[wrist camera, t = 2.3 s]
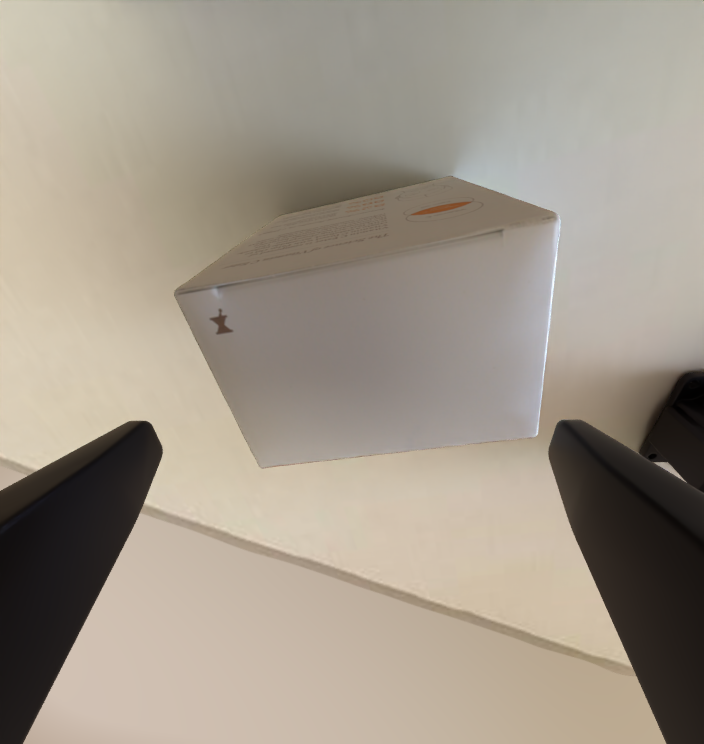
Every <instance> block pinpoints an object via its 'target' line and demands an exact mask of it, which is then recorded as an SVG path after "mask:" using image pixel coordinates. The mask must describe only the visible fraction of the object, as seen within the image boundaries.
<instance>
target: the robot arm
mask: <svg viewBox="0 0 704 744" xmlns="http://www.w3.org/2000/svg"><path fill="white" fill-rule="evenodd" d="M162 454H163V449H162V445H161V443H160V441H159V439H158V437H157V434H156V432H155V430H154V428H153V426H152V424H151V423H149V422H148V421H129V422H127V423H125V424H123V425H121V426H119V427H117V428H116V429H114V430H112V431H110V432H108V433H106V434H104V435H103V436H101V437H99V438H97V439H95V440H93V441H92V442H90V443H88V444H86V445H84V446H82V447H80V448H79V449H77V450H75V451H73V452H71V453H69V454H68V455H66V456H64V457H62V458H60V459H58V460H56V461H55V462H53V463H51V464H49V465H47V466H45V467H44V468H42V469H40V470H38V471H36V472H34V473H32V474H31V475H29V476H27V477H25V478H23V479H21V480H20V481H18V482H16V483H14V484H12V485H11V486H9V487H7V488H5V489H3V490H1V491H0V744H23V742H24V740H25V738H26V736H27V734H28V732H29V730H30V728H31V727H32V725H33V723H34V721H35V719H36V717H37V715H38V713H39V711H40V709H41V707H42V705H43V703H44V701H45V699H46V697H47V695H48V693H49V691H50V689H51V687H52V685H53V683H54V681H55V680H56V678H57V676H58V674H59V672H60V670H61V668H62V666H63V664H64V662H65V660H66V658H67V656H68V654H69V652H70V650H71V648H72V646H73V644H74V642H75V640H76V638H77V636H78V634H79V632H80V630H81V628H82V626H83V625H84V623H85V621H86V619H87V617H88V615H89V613H90V611H91V609H92V607H93V605H94V603H95V601H96V599H97V597H98V595H99V593H100V591H101V589H102V587H103V585H104V583H105V581H106V580H107V577H108V576H109V574H110V572H111V570H112V568H113V566H114V564H115V562H116V560H117V558H118V556H119V554H120V552H121V550H122V548H123V546H124V544H125V542H126V540H127V538H128V536H129V534H130V533H131V531H132V529H133V527H134V524H135V522H136V520H137V518H138V516H139V513H140V511H141V509H142V506H143V504H144V501H145V499H146V496H147V494H148V491H149V489H150V486H151V483H152V481H153V478H154V476H155V473H156V471H157V468H158V466H159V463H160V461H161V458H162ZM548 454H549V460H550V463H551V466H552V470H553V473H554V476H555V479H556V482H557V485H558V489H559V492H560V495H561V498H562V501H563V504H564V508H565V511H566V514H567V517H568V520H569V523H570V525H571V528H572V531H573V533H574V535H575V538H576V540H577V543H578V545H579V547H580V549H581V552H582V554H583V556H584V558H585V561H586V563H587V565H588V567H589V570H590V572H591V574H592V576H593V579H594V581H595V583H596V585H597V588H598V590H599V592H600V594H601V597H602V599H603V601H604V604H605V606H606V608H607V610H608V613H609V615H610V617H611V619H612V622H613V624H614V626H615V628H616V631H617V633H618V635H619V637H620V640H621V642H622V644H623V646H624V649H625V651H626V653H627V655H628V658H629V660H630V662H631V665H632V667H633V669H634V671H635V674H636V676H637V678H638V680H639V683H640V685H641V687H642V689H643V691H644V694H645V696H646V698H647V700H648V703H649V705H650V707H651V710H652V712H653V714H654V716H655V719H656V721H657V723H658V726H659V728H660V730H661V732H662V735H663V737H664V739H665V741H666V744H704V372H693V373H688V374H685V375H684V376H682V377H681V378H680V380H679V381H678V383H677V385H676V387H675V388H674V390H673V392H672V394H671V396H670V398H669V399H668V401H667V403H666V405H665V407H664V409H663V410H662V412H661V414H660V416H659V418H658V420H657V421H656V423H655V425H654V427H653V429H652V430H651V432H650V434H649V436H648V438H647V440H646V441H645V443H644V445H643V447H642V449H641V451H640V454H638V453H636V452H635V451H633V450H631V449H630V448H628V447H626V446H625V445H623V444H621V443H620V442H618V441H616V440H615V439H613V438H611V437H610V436H608V435H606V434H605V433H603V432H601V431H600V430H598V429H596V428H595V427H593V426H591V425H590V424H588V423H586V422H584V421H582V420H561V421H559V422H558V423H557V425H556V428H555V431H554V434H553V437H552V440H551V443H550V446H549V451H548ZM653 462H668V463H669V464H670V465H671V466H672V467H673V468H674V469H675V470H676V471H677V472H678V473H679V475H680V476H681V477H682V478H683V479H684V480H685V481H686V482H687V483H686V482H685V481H683V480H681V479H680V478H678V477H676V476H675V475H673V474H671V473H670V472H668V471H666V470H665V469H663V468H661V467H660V466H658V465H656V464H655V463H653Z"/></svg>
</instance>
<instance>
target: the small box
mask: <svg viewBox="0 0 704 744" xmlns="http://www.w3.org/2000/svg"><path fill="white" fill-rule="evenodd" d="M560 226H561V219H560V217H559V215H558V214H557V213H555V212H553V211H550V210H547V209H544V208H541V207H538V206H535V205H533V204H530V203H527V202H524V201H521V200H518V199H515V198H512V197H510V196H507V195H504V194H501V193H499V192H496V191H493V190H490V189H487V188H484V187H481V186H479V185H475V184H472V183H469V182H467V181H464V180H461V179H458V178H455V177H453V176H448V177H444V178H441V179H437V180H432V181H428V182H424V183H419V184H415V185H411V186H406V187H402V188H398V189H393V190H389V191H385V192H381V193H376V194H372V195H368V196H363V197H359V198H355V199H350V200H346V201H342V202H337V203H333V204H329V205H325V206H320V207H316V208H311V209H307V210H303V211H298V212H294V213H289V214H284V215H280V216H278V217H277V218H275V219H274V220H272V221H271V222H269V223H268V224H266V225H265V226H264V227H262V228H261V229H259V230H258V231H257V232H255V233H254V234H252V235H251V236H249V237H248V238H247V239H245V240H244V241H242V242H241V243H240V244H238V245H237V246H236V247H234V248H233V249H231V250H230V251H229V252H228V253H226V254H225V255H223V256H222V257H221V258H220V259H218V260H217V261H215V262H214V263H212V264H211V265H210V266H208V267H207V268H205V269H204V270H203V271H201V272H200V273H198V274H197V275H196V276H194V277H193V278H192V279H190V280H189V281H188V282H186V283H185V284H183V285H181V286H180V287H178V288H177V289H176V290H175V292H174V296H175V298H176V300H177V302H178V304H179V306H180V308H181V310H182V312H183V314H184V316H185V318H186V320H187V322H188V324H189V326H190V329H191V331H192V333H193V335H194V337H195V339H196V341H197V343H198V345H199V347H200V349H201V351H202V353H203V355H204V357H205V359H206V361H207V363H208V365H209V367H210V369H211V371H212V373H213V375H214V377H215V379H216V381H217V383H218V385H219V387H220V389H221V391H222V394H223V396H224V398H225V399H226V401H227V403H228V405H229V407H230V409H231V411H232V413H233V416H234V418H235V420H236V422H237V424H238V426H239V428H240V430H241V432H242V434H243V436H244V438H245V440H246V442H247V444H248V446H249V448H250V450H251V452H252V453H253V455H254V457H255V459H256V460H257V463H258V465H259V467H261V468H268V467H275V466H284V465H293V464H302V463H311V462H319V461H328V460H337V459H344V458H354V457H362V456H371V455H380V454H389V453H398V452H407V451H415V450H425V449H434V448H442V447H450V446H460V445H470V444H478V443H487V442H496V441H505V440H514V439H524V438H533V437H535V436H537V433H538V426H539V417H540V408H541V399H542V390H543V381H544V372H545V363H546V354H547V344H548V335H549V326H550V317H551V308H552V299H553V289H554V280H555V270H556V261H557V251H558V242H559V234H560Z"/></svg>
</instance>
